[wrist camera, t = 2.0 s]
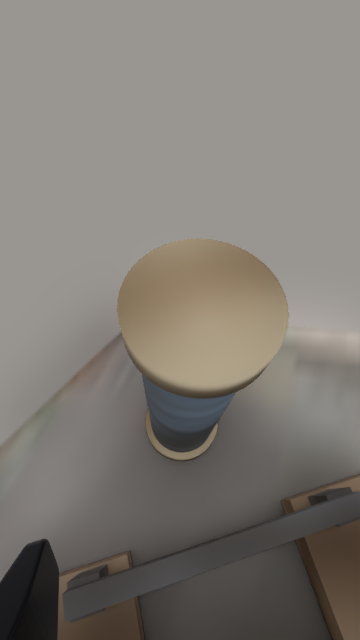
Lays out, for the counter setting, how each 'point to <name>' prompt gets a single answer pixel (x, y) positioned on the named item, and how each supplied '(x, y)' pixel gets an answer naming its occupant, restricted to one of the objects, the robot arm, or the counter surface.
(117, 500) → the counter surface
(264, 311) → the spool
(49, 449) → the counter surface
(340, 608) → the board
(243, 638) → the counter surface
